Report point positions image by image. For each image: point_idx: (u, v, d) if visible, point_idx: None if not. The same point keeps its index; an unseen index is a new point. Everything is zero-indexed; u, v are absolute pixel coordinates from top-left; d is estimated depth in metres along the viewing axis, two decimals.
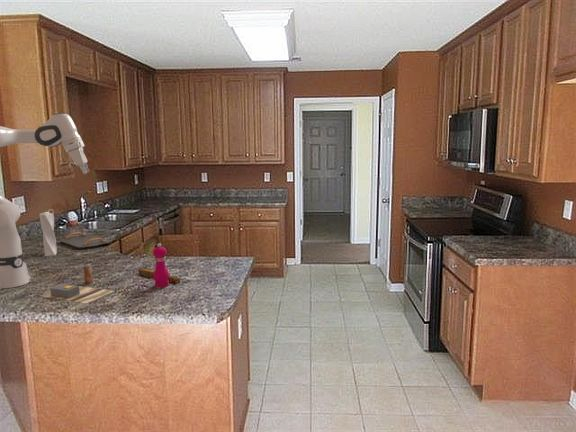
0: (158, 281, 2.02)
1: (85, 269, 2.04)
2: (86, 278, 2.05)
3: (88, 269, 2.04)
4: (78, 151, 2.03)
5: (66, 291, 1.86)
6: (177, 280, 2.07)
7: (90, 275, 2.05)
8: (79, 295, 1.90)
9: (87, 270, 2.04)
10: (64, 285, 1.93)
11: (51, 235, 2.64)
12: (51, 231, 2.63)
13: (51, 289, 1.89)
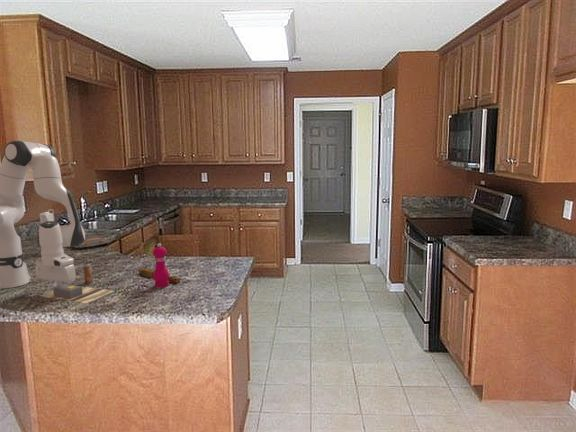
0: (158, 281, 2.02)
1: (85, 269, 2.04)
2: (86, 278, 2.05)
3: (88, 269, 2.04)
4: (73, 267, 1.89)
5: (69, 292, 1.86)
6: (177, 280, 2.07)
7: (90, 275, 2.05)
8: None
9: (87, 270, 2.04)
10: (67, 285, 1.92)
11: None
12: None
13: (54, 289, 1.89)
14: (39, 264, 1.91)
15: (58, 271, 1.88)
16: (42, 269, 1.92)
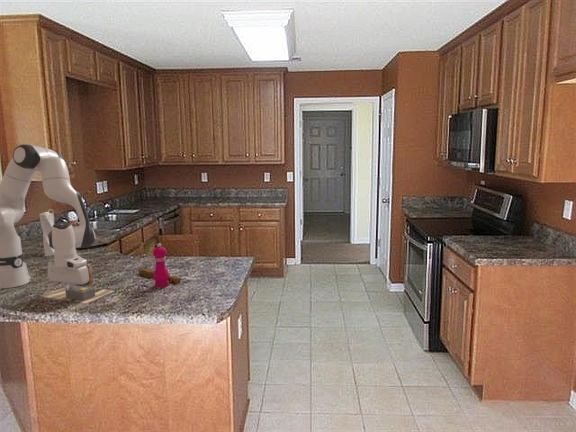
0: (158, 281, 2.02)
1: None
2: None
3: (88, 269, 2.04)
4: (86, 269, 1.86)
5: (82, 293, 1.83)
6: (177, 280, 2.07)
7: (90, 275, 2.05)
8: None
9: None
10: (79, 287, 1.90)
11: None
12: None
13: (66, 291, 1.86)
14: (51, 265, 1.89)
15: (71, 273, 1.85)
16: (54, 270, 1.89)
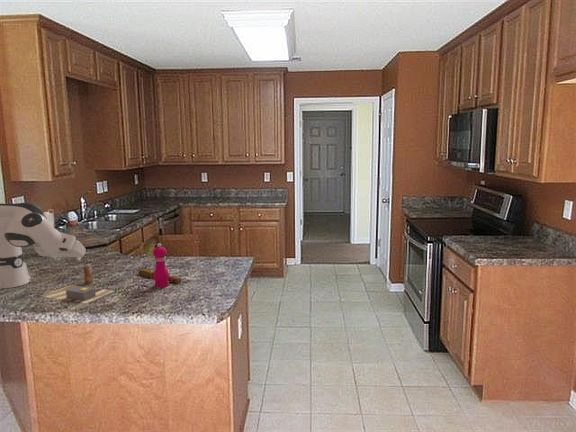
0: (158, 281, 2.02)
1: (85, 269, 2.04)
2: (86, 278, 2.05)
3: (88, 269, 2.04)
4: (79, 243, 1.83)
5: (82, 293, 1.83)
6: (178, 280, 2.07)
7: (90, 275, 2.05)
8: None
9: (87, 270, 2.04)
10: (80, 287, 1.89)
11: None
12: None
13: (67, 291, 1.86)
14: (39, 248, 1.82)
15: (66, 251, 1.83)
16: (44, 250, 1.84)
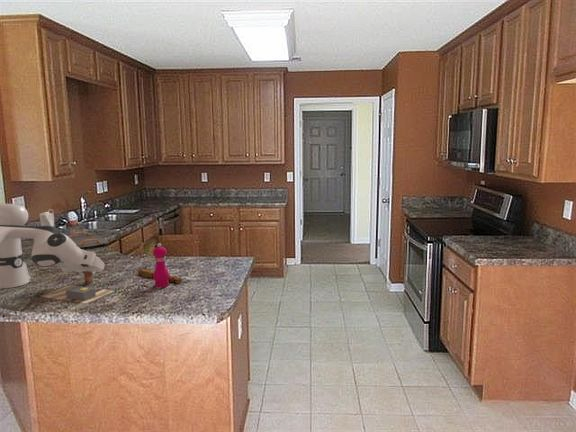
0: (158, 281, 2.02)
1: None
2: (86, 278, 2.05)
3: None
4: (98, 258, 1.98)
5: (82, 293, 1.83)
6: (179, 280, 2.07)
7: (90, 275, 2.05)
8: None
9: None
10: (80, 287, 1.89)
11: None
12: None
13: (67, 291, 1.86)
14: (61, 264, 1.97)
15: (86, 266, 1.98)
16: (67, 266, 1.99)
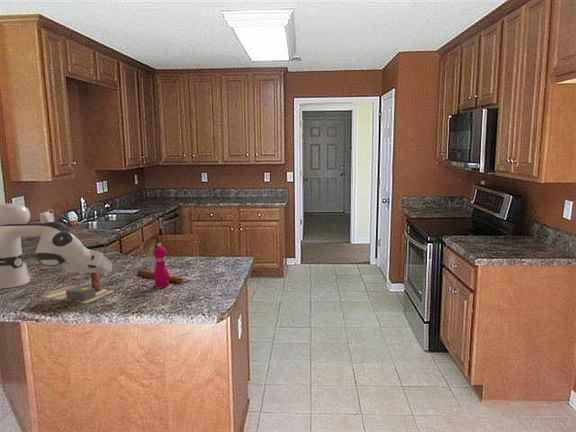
0: (158, 281, 2.02)
1: (92, 273, 1.93)
2: (93, 283, 1.93)
3: (95, 273, 1.93)
4: (106, 259, 1.86)
5: (82, 293, 1.83)
6: (180, 280, 2.07)
7: (97, 280, 1.94)
8: None
9: (94, 274, 1.93)
10: (80, 287, 1.89)
11: None
12: None
13: (67, 291, 1.86)
14: (67, 265, 1.85)
15: (93, 267, 1.86)
16: (72, 267, 1.87)
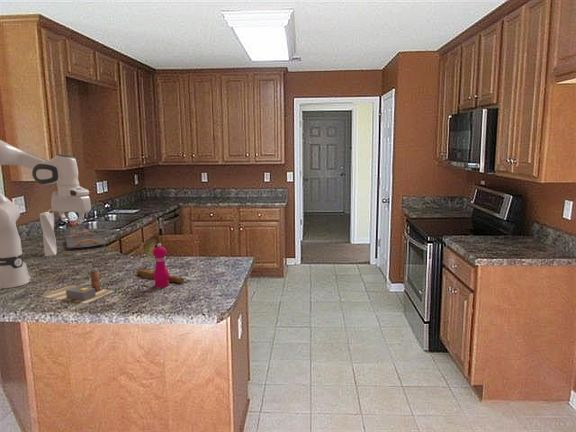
0: (158, 281, 2.02)
1: (92, 273, 1.93)
2: (93, 283, 1.93)
3: (95, 273, 1.93)
4: (88, 198, 1.95)
5: (82, 293, 1.83)
6: (181, 280, 2.07)
7: (97, 280, 1.94)
8: None
9: (94, 274, 1.93)
10: (80, 287, 1.89)
11: (51, 235, 2.64)
12: (51, 231, 2.63)
13: (67, 291, 1.86)
14: (55, 196, 1.98)
15: (74, 202, 1.94)
16: (58, 201, 1.98)
